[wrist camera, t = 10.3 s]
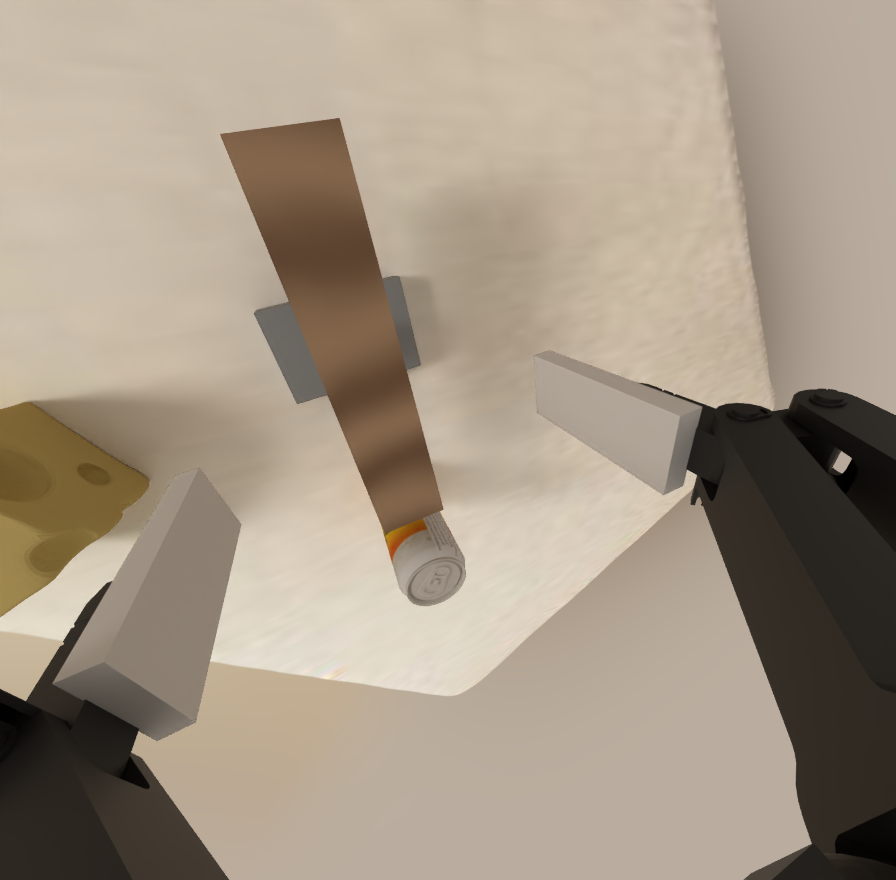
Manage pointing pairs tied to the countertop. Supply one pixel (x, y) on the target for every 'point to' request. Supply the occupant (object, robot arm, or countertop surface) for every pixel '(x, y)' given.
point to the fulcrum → (296, 355)
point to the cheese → (52, 499)
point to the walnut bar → (339, 303)
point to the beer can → (426, 560)
